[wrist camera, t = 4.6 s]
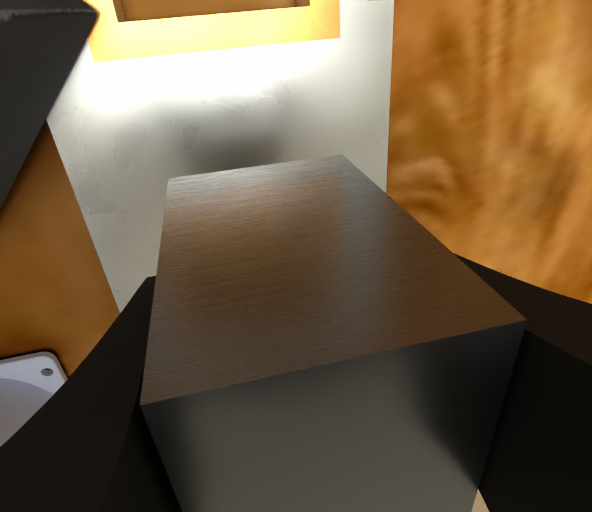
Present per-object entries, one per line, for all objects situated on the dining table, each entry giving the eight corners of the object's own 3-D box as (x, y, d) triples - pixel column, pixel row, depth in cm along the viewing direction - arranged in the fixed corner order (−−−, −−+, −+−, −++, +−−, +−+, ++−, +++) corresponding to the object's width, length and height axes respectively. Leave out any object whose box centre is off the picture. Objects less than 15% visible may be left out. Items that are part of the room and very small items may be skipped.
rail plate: (367, 325, 24) (381, 349, 22) (154, 371, 22) (152, 401, 20) (383, -469, 10) (421, -566, 9) (-168, -527, 8) (-257, -664, 7)
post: (343, 291, 13) (469, 516, 7) (202, 319, 12) (213, 592, 7) (342, 154, 11) (527, 319, 5) (168, 178, 10) (138, 406, 4)
